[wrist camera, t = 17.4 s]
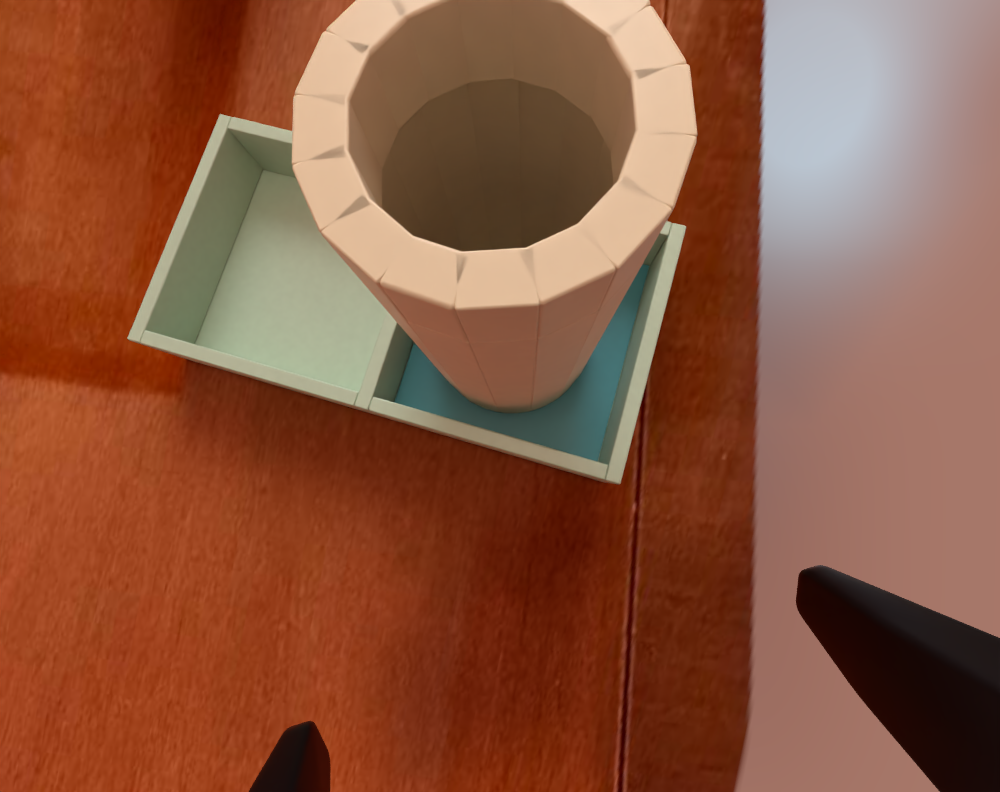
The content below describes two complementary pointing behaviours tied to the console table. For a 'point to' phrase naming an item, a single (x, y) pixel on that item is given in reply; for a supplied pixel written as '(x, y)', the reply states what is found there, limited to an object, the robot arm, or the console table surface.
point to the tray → (366, 318)
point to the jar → (495, 174)
